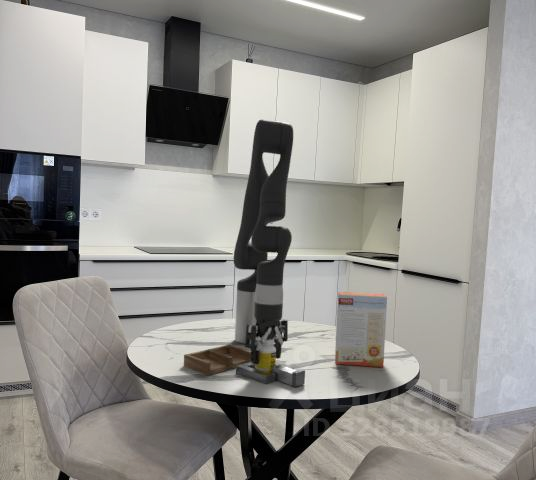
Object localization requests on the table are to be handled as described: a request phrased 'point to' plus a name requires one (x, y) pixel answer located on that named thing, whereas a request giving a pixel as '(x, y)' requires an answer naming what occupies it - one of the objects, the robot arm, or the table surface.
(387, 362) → the table surface
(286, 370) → the silver rectangular block
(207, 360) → the brown wooden divided tray
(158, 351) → the table surface
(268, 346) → the supplement bottle
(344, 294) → the cracker box
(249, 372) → the socket
